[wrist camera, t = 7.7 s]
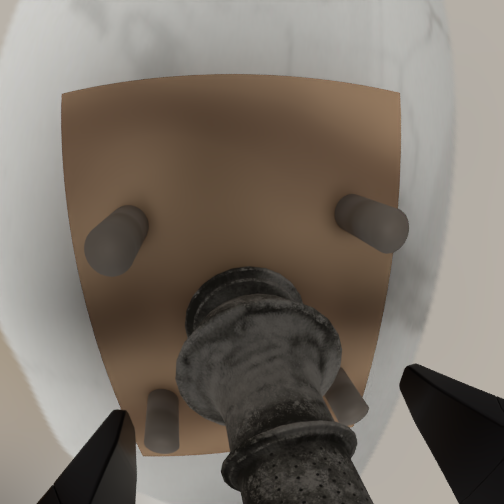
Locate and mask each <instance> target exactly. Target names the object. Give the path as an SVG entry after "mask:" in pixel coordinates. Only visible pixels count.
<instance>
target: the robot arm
mask: <svg viewBox="0 0 504 504" xmlns="http://www.w3.org/2000/svg"><path fill="white" fill-rule="evenodd" d="M399 386H400V391H401V393H402V395H403V397H404V399H405V402H406V404H407V406H408V408H409V410H410V413H411V415H412V417H413V420H414V422H415V424H416V426H417V427H418V429H419V431H420V433H421V434H422V436H423V438H424V440H425V441H426V443H427V445H428V447H429V449H430V450H431V452H432V454H433V456H434V457H435V459H436V461H437V463H438V465H439V467H440V468H441V471H442V472H443V474H444V476H445V478H446V480H447V482H448V484H449V486H450V487H451V489H452V491H453V493H454V495H455V497H456V499H457V501H458V503H459V504H504V399H502V398H500V397H496V396H495V395H492V394H490V393H487V392H484V391H482V390H479V389H477V388H474V387H472V386H469V385H467V384H465V383H462V382H460V381H457V380H455V379H452V378H450V377H447V376H445V375H443V374H440V373H437V372H435V371H433V370H431V369H428V368H426V367H424V366H421V365H419V364H412V365H409V366H407V367H406V368H405V369H404V372H403V375H402V378H401V381H400V385H399ZM136 482H137V466H136V439H135V428H134V425H133V423H132V420H131V418H130V416H129V413H128V412H127V411H126V410H113V411H112V412H111V413H110V415H109V416H108V417H107V418H106V419H105V421H104V422H103V423H102V424H101V426H100V427H99V428H98V429H97V431H96V432H95V433H94V434H93V435H92V437H91V438H90V439H89V440H88V442H87V443H86V444H85V445H84V446H83V448H82V449H81V450H80V451H79V453H78V454H77V455H76V456H75V458H74V459H73V460H72V461H71V463H70V464H69V465H68V466H67V467H66V469H65V470H64V471H63V472H62V474H61V475H60V476H59V477H58V479H57V480H56V481H55V483H54V485H52V486H51V487H50V488H49V490H48V491H47V492H46V493H45V495H44V496H43V497H42V498H41V499H40V500H39V501H38V503H37V504H135V498H136Z"/></svg>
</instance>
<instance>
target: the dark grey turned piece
mask: <svg viewBox="0 0 504 504" xmlns="http://www.w3.org/2000/svg"><path fill="white" fill-rule="evenodd" d="M185 329H186V334H187V340H186V341H185V342H184V344H183V346H182V348H181V351H180V353H179V355H178V358H177V360H176V376H175V380H176V383H177V386H178V389H179V392H180V395H181V396H182V398H183V399H184V400H185V402H186V403H187V404H188V406H189V407H190V408H191V409H192V410H194V411H195V412H196V413H198V414H199V415H200V416H202V417H203V418H205V419H207V420H210V421H212V422H215V423H217V424H219V425H223V426H226V430H227V436H228V442H229V448H230V454H229V455H228V456H227V458H226V459H225V460H224V461H223V464H222V469H221V474H222V477H223V479H224V482H225V483H227V484H228V485H229V486H230V487H231V488H233V489H235V490H237V491H240V492H241V496H242V500H243V504H373V502H372V500H371V498H370V496H369V494H368V492H367V490H366V488H365V486H364V484H363V482H362V480H361V478H360V476H359V474H358V472H357V470H356V468H355V466H354V464H353V462H352V461H351V457H352V456H353V454H354V453H355V450H356V446H357V439H356V435H355V433H354V432H353V431H352V430H351V429H350V428H349V427H348V426H346V425H343V424H341V423H338V422H335V421H334V419H333V417H332V415H331V413H330V411H329V409H328V407H327V405H326V403H325V401H324V399H323V396H324V395H325V393H326V392H327V391H328V389H329V388H330V387H331V385H332V384H333V382H334V380H335V378H336V376H337V373H338V371H339V368H340V366H341V357H342V347H341V342H340V338H339V334H338V333H337V331H336V330H335V328H334V327H333V325H332V324H331V322H330V321H329V319H328V318H327V317H325V316H324V315H322V314H321V313H320V312H318V311H317V310H316V309H314V308H313V307H310V306H307V305H305V304H303V302H302V298H301V295H300V294H299V292H298V291H297V289H296V288H295V287H294V285H293V284H292V283H291V282H290V281H289V280H288V279H286V278H285V277H284V276H282V275H281V274H279V273H277V272H274V271H272V270H269V269H267V268H260V267H251V266H247V267H240V268H232V269H229V270H227V271H224V272H222V273H219V274H217V275H215V276H214V277H212V278H211V279H209V280H208V281H207V282H205V283H204V284H202V285H201V287H200V288H199V289H198V290H197V292H196V293H195V294H194V295H193V296H192V298H191V301H190V303H189V305H188V308H187V310H186V318H185Z"/></svg>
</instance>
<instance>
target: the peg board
mask: <svg viewBox="0 0 504 504" xmlns="http://www.w3.org/2000/svg"><path fill="white" fill-rule="evenodd" d="M61 130H62V156H63V171H64V182H65V192H66V201H67V209H68V217H69V224H70V230H71V236H72V242H73V248H74V253H75V258H76V263H77V268H78V273H79V277H80V282H81V286H82V290H83V295H84V299H85V303H86V306H87V310H88V314H89V318H90V321H91V325H92V328H93V331H94V335H95V338H96V341H97V344H98V348H99V351H100V354H101V357H102V360H103V363H104V365H105V368H106V371H107V374H108V377H109V379H110V382H111V385H112V387H113V390H114V393H115V395H116V398H117V400H118V403H119V405H120V407H121V410H126V411H127V412H128V413H129V416H130V418H131V420H132V423H133V425H134V428H135V439H136V443H137V445H138V447H139V449H140V451H141V453H142V455H143V456H185V455H201V454H214V453H224V452H230V448H229V442H228V436H227V430H226V426H223V425H219V424H217V423H215V422H212V421H210V420H207V419H205V418H203V417H202V416H200V415H199V414H198V413H196V412H195V411H194V410H192V409H191V408H190V407H189V406H188V404H187V403H186V402H185V400H184V399H183V398H182V396H181V395H180V392H179V389H178V386H177V383H176V380H175V376H176V360H177V358H178V355H179V353H180V351H181V348H182V346H183V344H184V342H185V341H186V340H187V334H186V329H185V318H186V310H187V308H188V305H189V303H190V301H191V298H192V296H193V295H194V294H195V293H196V292H197V290H198V289H199V288H200V287H201V285H202V284H204V283H205V282H207V281H208V280H209V279H211V278H212V277H214V276H215V275H217V274H219V273H222V272H224V271H227V270H229V269H232V268H240V267H247V266H251V267H260V268H267V269H269V270H272V271H274V272H277V273H279V274H281V275H282V276H284V277H285V278H286V279H288V280H289V281H290V282H291V283H292V284H293V285H294V287H295V288H296V289H297V291H298V292H299V294H300V295H301V298H302V302H303V304H305V305H307V306H310V307H313V308H314V309H316V310H317V311H318V312H320V313H321V314H322V315H324V316H325V317H327V318H328V319H329V321H330V322H331V324H332V325H333V327H334V328H335V330H336V331H337V333H338V334H339V338H340V342H341V347H342V357H341V366H340V368H339V371H338V373H337V376H336V378H335V380H334V382H333V384H332V385H331V387H330V388H329V389H328V391H327V392H326V393H325V395H324V396H323V399H324V401H325V403H326V405H327V407H328V409H329V411H330V413H331V415H332V417H333V419H334V421H335V422H338V423H341V424H343V425H346V426H348V427H349V428H350V427H353V426H354V424H355V423H357V422H359V421H360V420H361V419H363V418H364V417H365V415H366V414H367V412H368V410H369V407H368V405H367V404H366V402H365V401H364V399H363V398H362V397H363V394H364V390H365V387H366V383H367V380H368V376H369V372H370V369H371V365H372V361H373V357H374V353H375V348H376V344H377V340H378V335H379V331H380V326H381V321H382V316H383V311H384V306H385V301H386V295H387V289H388V283H389V277H390V270H391V264H392V256H393V252H395V251H397V250H398V249H400V248H401V247H402V245H403V244H404V243H405V241H406V239H407V236H408V232H409V223H408V219H407V217H406V215H405V214H404V212H402V211H401V210H399V209H398V198H399V183H400V159H401V108H400V93H398V92H393V91H389V90H384V89H379V88H374V87H368V86H363V85H357V84H351V83H344V82H337V81H330V80H322V79H313V78H302V77H291V76H276V75H251V74H213V75H188V76H173V77H162V78H152V79H143V80H135V81H127V82H120V83H114V84H108V85H102V86H97V87H91V88H86V89H81V90H77V91H72V92H68V93H64V94H62V102H61Z"/></svg>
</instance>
